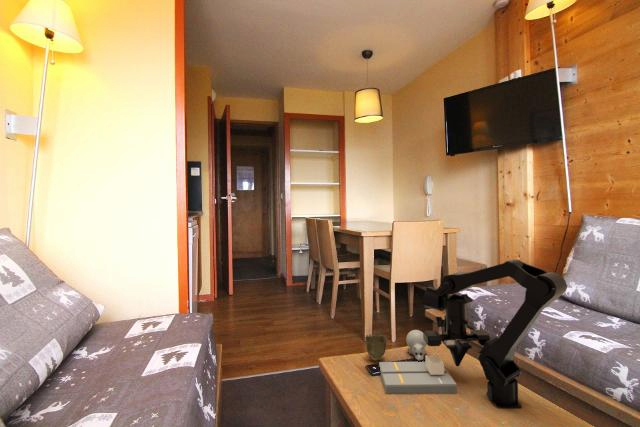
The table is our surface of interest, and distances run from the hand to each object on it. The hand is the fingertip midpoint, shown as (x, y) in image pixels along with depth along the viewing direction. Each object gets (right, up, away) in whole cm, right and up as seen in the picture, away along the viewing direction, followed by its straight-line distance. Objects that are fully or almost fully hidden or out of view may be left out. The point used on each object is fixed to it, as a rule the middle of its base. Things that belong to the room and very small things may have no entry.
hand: (457, 365), depth 100 cm
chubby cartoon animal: (-7, -5, +17) cm, 19 cm away
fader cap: (-7, -2, 0) cm, 7 cm away
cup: (-22, -5, +15) cm, 27 cm away
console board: (-13, -5, +1) cm, 14 cm away
